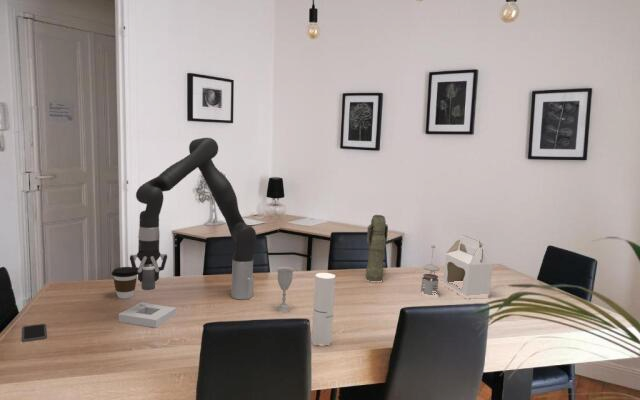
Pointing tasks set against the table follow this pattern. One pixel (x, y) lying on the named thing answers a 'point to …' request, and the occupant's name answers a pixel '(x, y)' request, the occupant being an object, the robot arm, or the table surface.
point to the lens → (148, 277)
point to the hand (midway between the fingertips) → (148, 280)
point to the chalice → (284, 284)
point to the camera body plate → (147, 314)
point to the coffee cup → (124, 281)
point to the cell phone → (34, 332)
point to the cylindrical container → (323, 308)
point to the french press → (427, 282)
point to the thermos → (376, 247)
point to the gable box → (468, 267)
